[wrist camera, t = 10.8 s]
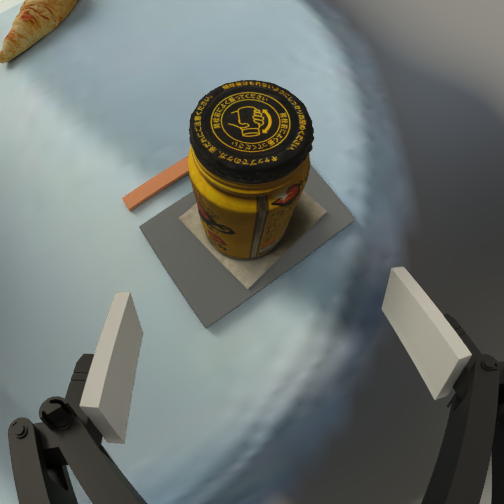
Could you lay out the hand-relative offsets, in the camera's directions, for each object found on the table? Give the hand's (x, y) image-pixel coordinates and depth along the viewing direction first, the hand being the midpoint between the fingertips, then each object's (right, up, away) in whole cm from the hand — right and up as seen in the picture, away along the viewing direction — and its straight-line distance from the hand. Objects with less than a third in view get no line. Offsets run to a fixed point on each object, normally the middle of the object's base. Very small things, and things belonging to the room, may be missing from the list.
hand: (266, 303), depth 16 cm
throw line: (-5, +10, +10) cm, 15 cm away
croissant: (-33, +38, +17) cm, 53 cm away
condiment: (-1, +5, +9) cm, 10 cm away
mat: (-1, +5, +9) cm, 10 cm away
